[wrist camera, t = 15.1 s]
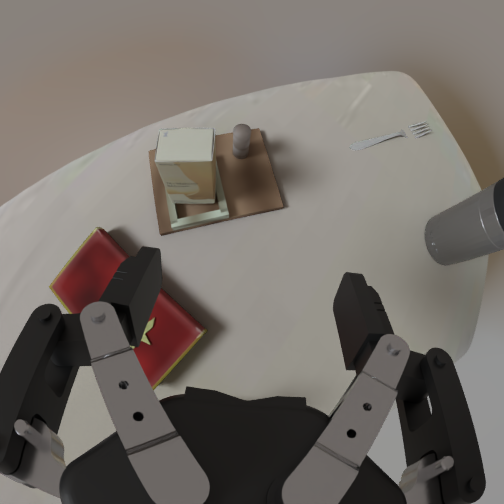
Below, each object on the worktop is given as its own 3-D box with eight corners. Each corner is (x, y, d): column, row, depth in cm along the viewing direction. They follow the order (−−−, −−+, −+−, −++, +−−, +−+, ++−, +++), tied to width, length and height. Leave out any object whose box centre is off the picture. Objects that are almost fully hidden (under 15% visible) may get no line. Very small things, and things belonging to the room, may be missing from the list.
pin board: (258, 131, 46) (263, 105, 39) (282, 208, 43) (291, 190, 36) (149, 154, 44) (139, 130, 37) (161, 235, 41) (149, 221, 34)
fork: (332, 145, 47) (335, 139, 45) (421, 123, 50) (425, 119, 49) (341, 160, 46) (345, 155, 44) (429, 136, 50) (433, 131, 48)
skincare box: (171, 204, 39) (150, 162, 28) (174, 176, 40) (156, 128, 28) (217, 204, 40) (213, 161, 28) (218, 175, 41) (215, 126, 29)
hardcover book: (108, 232, 41) (97, 224, 37) (208, 329, 39) (206, 331, 35) (61, 289, 39) (47, 286, 35) (155, 388, 37) (147, 396, 33)
